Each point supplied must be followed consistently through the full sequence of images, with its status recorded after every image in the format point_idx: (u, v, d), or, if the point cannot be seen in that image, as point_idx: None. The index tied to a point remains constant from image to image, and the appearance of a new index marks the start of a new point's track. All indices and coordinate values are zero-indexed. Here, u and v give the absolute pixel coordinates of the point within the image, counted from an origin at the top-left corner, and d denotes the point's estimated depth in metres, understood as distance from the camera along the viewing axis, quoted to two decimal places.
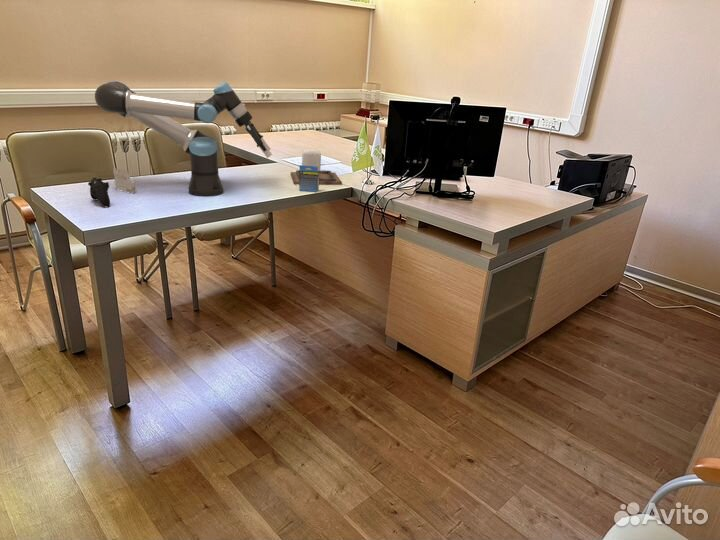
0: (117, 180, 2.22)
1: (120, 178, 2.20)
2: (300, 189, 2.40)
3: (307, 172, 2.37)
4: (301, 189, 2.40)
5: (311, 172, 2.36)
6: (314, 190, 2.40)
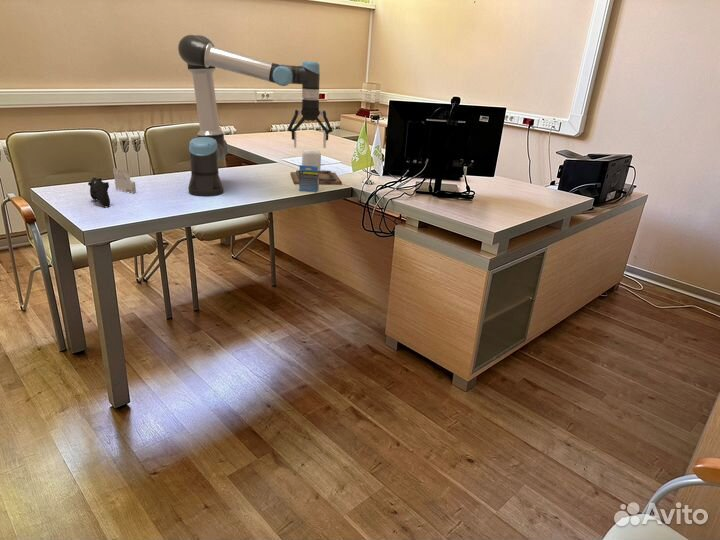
0: (117, 180, 2.22)
1: (120, 178, 2.20)
2: (300, 189, 2.40)
3: (307, 172, 2.37)
4: (301, 189, 2.40)
5: (311, 172, 2.36)
6: (314, 190, 2.40)
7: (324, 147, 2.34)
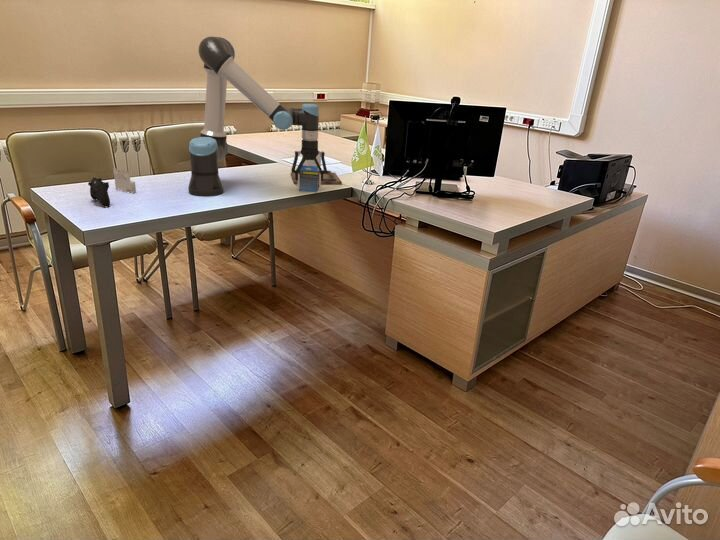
0: (117, 180, 2.22)
1: (120, 178, 2.20)
2: (300, 189, 2.40)
3: (307, 171, 2.36)
4: (301, 189, 2.40)
5: (311, 172, 2.36)
6: (314, 190, 2.40)
7: (319, 187, 2.41)
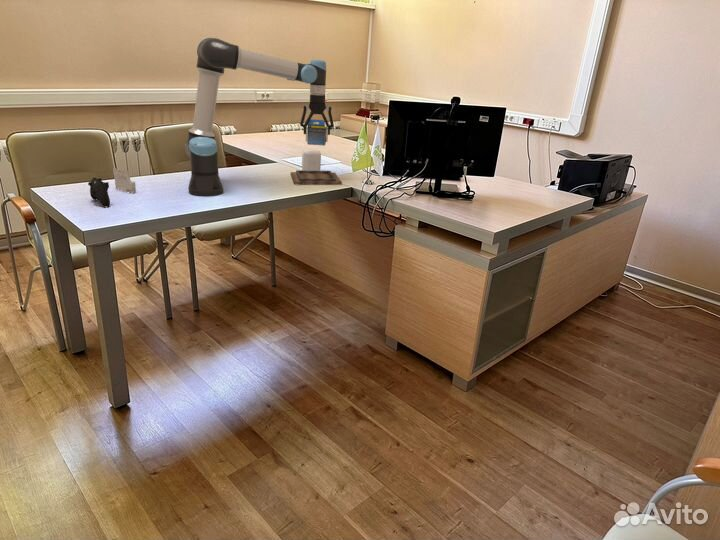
0: (117, 180, 2.22)
1: (120, 178, 2.20)
2: (308, 143, 2.53)
3: (315, 125, 2.50)
4: (309, 143, 2.53)
5: (319, 126, 2.50)
6: (321, 143, 2.53)
7: (326, 141, 2.54)
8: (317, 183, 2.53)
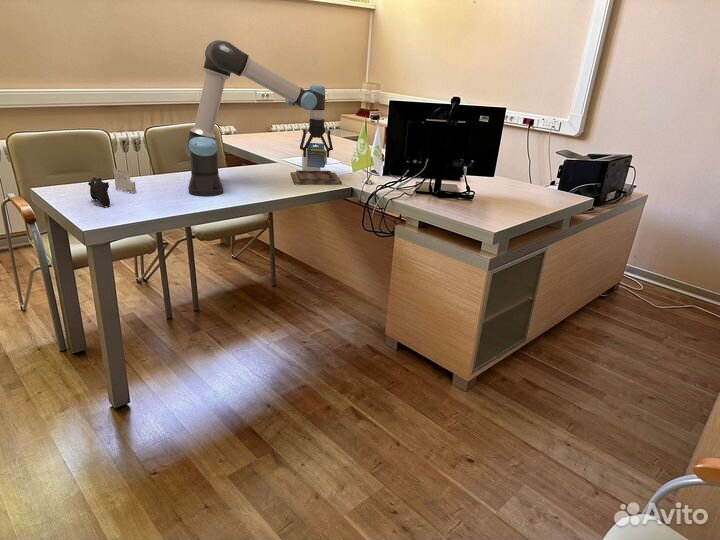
0: (117, 180, 2.22)
1: (120, 178, 2.20)
2: (307, 165, 2.58)
3: (314, 148, 2.55)
4: (309, 165, 2.58)
5: (318, 149, 2.55)
6: (321, 166, 2.58)
7: (325, 163, 2.59)
8: (317, 183, 2.53)
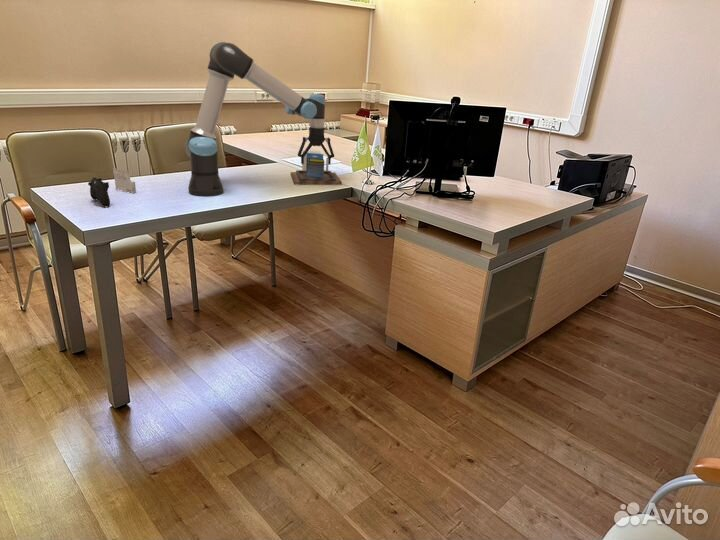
0: (117, 180, 2.22)
1: (120, 178, 2.20)
2: (307, 175, 2.60)
3: (313, 159, 2.57)
4: (308, 175, 2.60)
5: (317, 159, 2.57)
6: (320, 176, 2.60)
7: (327, 170, 2.61)
8: (317, 183, 2.53)
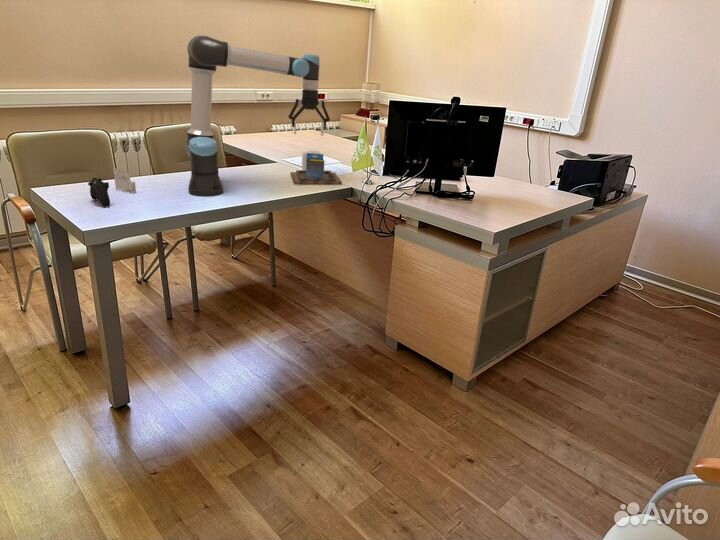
0: (117, 180, 2.22)
1: (120, 178, 2.20)
2: (307, 175, 2.60)
3: (313, 159, 2.57)
4: (308, 175, 2.60)
5: (317, 159, 2.57)
6: (320, 176, 2.60)
7: (322, 135, 2.51)
8: (317, 183, 2.53)
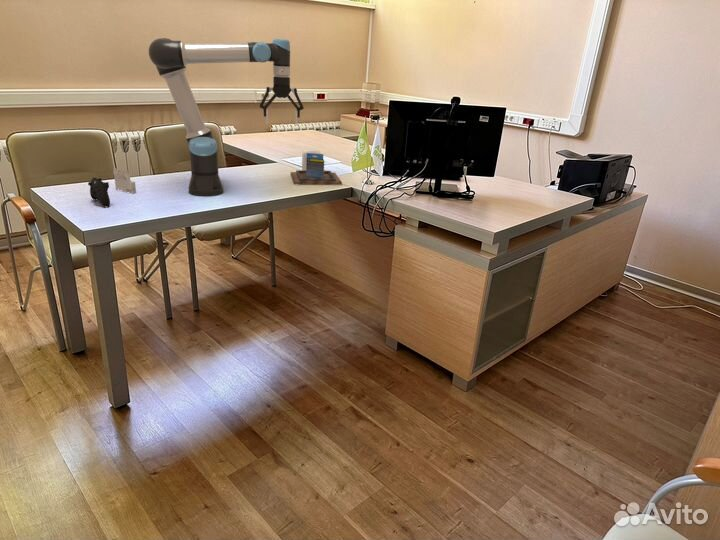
0: (117, 180, 2.22)
1: (120, 178, 2.20)
2: (307, 175, 2.60)
3: (313, 159, 2.57)
4: (308, 175, 2.60)
5: (317, 159, 2.57)
6: (320, 176, 2.60)
7: (296, 124, 2.39)
8: (317, 183, 2.53)
